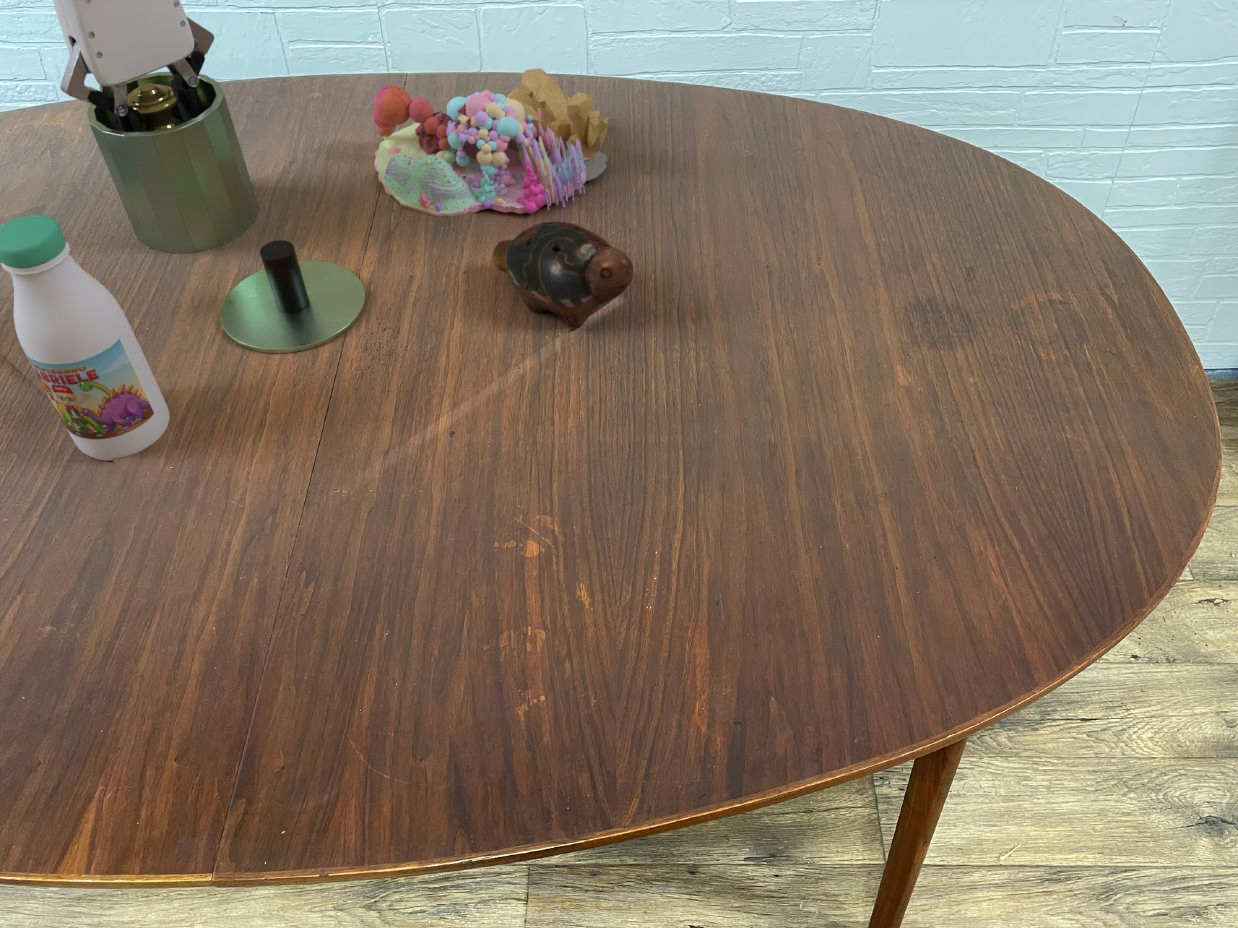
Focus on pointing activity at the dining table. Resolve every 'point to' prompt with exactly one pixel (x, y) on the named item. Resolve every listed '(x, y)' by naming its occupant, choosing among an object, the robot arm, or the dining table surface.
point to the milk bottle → (80, 344)
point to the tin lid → (292, 303)
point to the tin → (180, 173)
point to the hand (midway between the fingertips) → (166, 133)
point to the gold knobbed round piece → (154, 106)
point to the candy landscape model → (489, 148)
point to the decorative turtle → (563, 269)
